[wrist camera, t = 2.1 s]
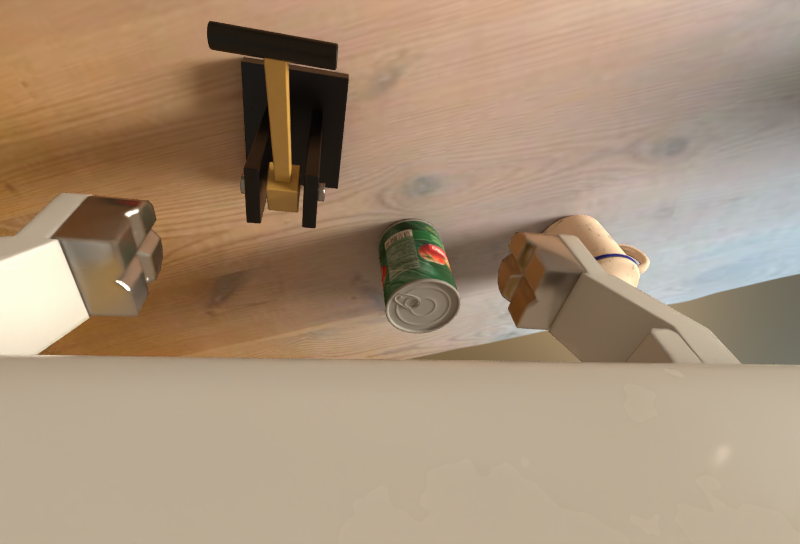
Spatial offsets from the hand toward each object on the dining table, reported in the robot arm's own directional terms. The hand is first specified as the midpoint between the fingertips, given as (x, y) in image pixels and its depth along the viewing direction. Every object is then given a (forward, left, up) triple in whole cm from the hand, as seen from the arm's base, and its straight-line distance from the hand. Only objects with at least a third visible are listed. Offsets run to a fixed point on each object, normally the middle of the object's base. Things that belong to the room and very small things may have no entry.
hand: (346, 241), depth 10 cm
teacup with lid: (+20, +33, -33) cm, 51 cm away
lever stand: (+10, -3, -33) cm, 34 cm away
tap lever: (+5, -3, -19) cm, 20 cm away
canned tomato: (+23, +11, -33) cm, 42 cm away
